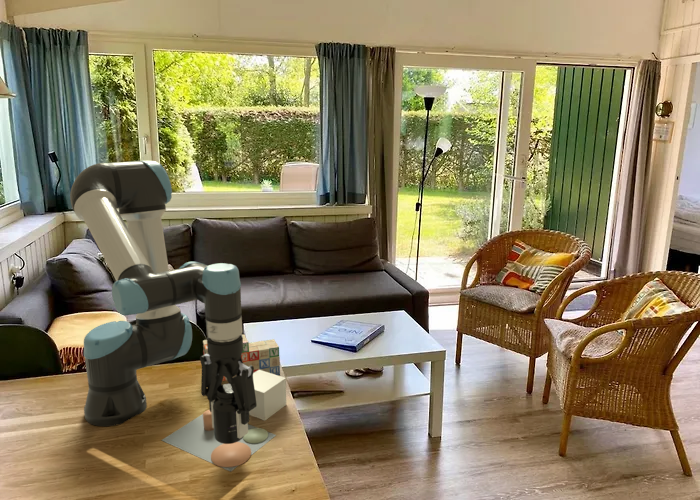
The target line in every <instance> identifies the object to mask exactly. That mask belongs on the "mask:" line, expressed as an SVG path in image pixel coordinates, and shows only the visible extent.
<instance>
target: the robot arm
mask: <svg viewBox="0 0 700 500" xmlns="http://www.w3.org/2000/svg"><path fill="white" fill-rule="evenodd" d="M172 194H173V189H172V184H171V180H170V177H169V175H168V173H167V170H166V169H165V168H164V167H163V165H162V164H161V163H160V162H158V161H155V160H134V161H133V160H131V161H122V162H121V161H118V162H117V161H116V162H115V161H114V162H98V163H94V164H91V165H90V166H88V167H86V168H85V169H83V170H81V172H79V174H78V175H77V176H76V178H75V180H74V181H73V183H72V186H71V188H70V194H69V195H70V197H69V198H70V205H71V208H72V210H73V213H74V214H75V216H76V217H77V218H78V219H79V220H81V221H83V222H84V223H85V225H86V227H87V229H88V231H89V232H90V234H91V236H92V238H93V239H94V241H95V243H96V245H97V247H98V249H99V250H100V253H101V255H102V257H103V258H104V260H105V262H106V264H107V265H108V268H109V270H110V271H111V274H112V276H113V277H114V279H115V281H114V283H112V286H111V295H112V296H111V297H112V300H113V301H112V302H113V303H114V307H115V310H116V311H117V312H118V314H120V315H121V316H131V315H135V321H136V323H135V324H132V323H130V322H129V321H125V320H118V321H115V320H114V321H109V322H106V323H102V324H100V325H97V326H96V327H94V328H92V329H91V330H90V331H89V332H88V333H87V334H86V335H85V336H84V338H83V357H84V360H85V361H84V362H85V368H86V376H87V377H86V378H87V384H88V391H87V394H86V400H85V404H84V407H83V412H84V418H85V421H86V422H87V423H88V424H90V425H93V426H97V427H113V426H118V425H122V424H124V423H126V422H128V421H130V420H131V419H133V418H135V417H136V416H138V415H139V414H141V413H143V412H145V411H146V409H147V404H148V403H147V398H146V397H147V396H146V395H145V392H144V390H143V388H142V386H141V385H140V382H139V380H138V377H137V370H141V369H144V368H147V367H150V366H155V365H157V364H160V363H164V362H168V361H173V360H175V359H177V358H179V357H182V356H185V355H186V354H187V353H188V352H189V350H190V348H191V346H192V344H193V343H192V341H193V329H192V324H191V323H190V319H189V316H188V315H187V314H186V313H182V311H181V308H180V307H178V305H181V304H185V303H190V302H193V301H199V302H201V303H202V304H204V312H205V313H204V314H205V316H204V317H205V327H206V337H207V338H206V340H207V348H208V353H207V354H205V355H200V357H199V361H200V364H201V381H200V382H201V387H200V388H201V389H200V393H201V396H202V397H206V398H207V400H208V404H209V405H208V406H209V410H210V412H211V413H212V428H214V419H213V403H214V401H215V399H216V398H217V388H218V387H219V386H220V385H223V382H224V381H223V377H224V376H225V377H226V378H227V380H226V381H227V383H230V384H231V387H232V390H233V393H234V396H235V399H236V402H237V406H238V409H239V410H237V411H236V420H237V438H242V437H243V436H244V435H246V434H247V433H248V424H249V422H250V415H249V411H251V410H252V409H254V408H255V407H256V406H257V404H256V396H255V389H254V381H253V371H254V367H253V366H252V365H250V366H249V367H248V366H246V365H244V364H243V361H242V358H241V354H242V351H243V336H242V335H243V322H242V320H243V317H242V296H241V295H242V293H241V292H242V291H241V288H242V283H241V279H240V271H239V268H238V267H237V265H235V264H232V263H227V262H226V263H225V262H224V263H223V262H220V263H212V264H209V265H207V264H205V263H201V262H198V261H188V262H187V261H186V262H185V263H184V264H182V265H181V266H180V267H178V268H177V269H171V270H170V269H169V261H168V255H167V250H166V242H165V236H164V229H163V222H162V221H163V220H162V216H163V215H164V213H165V212H166V211H167V209H166V208H167V207H166V204H168V203H169V202H171V200H172ZM124 220H125V221H126V222H125V221H124ZM126 223H127V224H126ZM235 375H236V376H235ZM234 376H235V377H234ZM232 377H233V378H232Z"/></svg>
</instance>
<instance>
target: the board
mask: <svg viewBox="0 0 700 500" xmlns="http://www.w3.org/2000/svg"><path fill="white" fill-rule="evenodd" d="M276 436H277V434H276V433H275V434H274V433H272V432H269V431H267V429H264V428H261V427H257V426H254V425H251V424H249V423H248V433H247V434H246V435H244V437H243V438H242V439H241V440H240V441H238V442H236V443H232V444H223V443H220V442H218V441H217V440H216V439H215V436H214V428H212V413H211V412H210V409H207V410H205V411H204V412H203V413H202V414H201V415H199V416H197V417H196V418H194V419H192V420H191V421H189V422H188V423H186V424H184V425H183V426H182V427H180V428H178V429H177V430H175V431H173V432H172V433H171V434H169V435H167V436H166V437H164V438H163V439H161V440H160V441H162V442H164V443H167V444H168V445H170V446H173V447H176V448H177V449H179V450H182V451H184V452H186V453H187V454H188V453H189V454H190V455H193V456H195V457H198V458H199V459H201V460H204V461H206V462H208V463H210V464H213V465H214V466H217V467H219V468H222V469H224V470H225V471H229V472H230V473H231V472H233V471H234V470H235V469H236V468H237V467H239V466H240V465H243V464H244V463H246V462H247V461H248V460H249V459H250V458H251V456H252V455H254V454H255V453H256V452H257V451H259V450H260V449H261V448H263V446H265V445H266V444H267V443H269V442H270V441H271V440H273V439H274V438H275V437H276Z"/></svg>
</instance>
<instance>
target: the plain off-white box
mask: <svg viewBox="0 0 700 500" xmlns="http://www.w3.org/2000/svg"><path fill="white" fill-rule="evenodd" d="M253 381H254V389H255V396H256V404H257V406H256V407H255V408H254V409H252V410H251V411H249V416H250V417H254V418H256V419H260V420H262V421H267V420H268V419H269V418H270V417H272V416H273V415H275V414H276V413H277V412H279V411H280V410H281V409H283V408H284V407H285V406H287V378H286V377H284V376H281V375H275V374H272V373H268V372H265V371H262V370H258V371H256V372H255V373H253Z"/></svg>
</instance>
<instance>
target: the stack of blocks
mask: <svg viewBox="0 0 700 500" xmlns="http://www.w3.org/2000/svg"><path fill="white" fill-rule="evenodd" d="M241 335H242V336H243V351H242V354H241V358H242V361H243V364H244V365H246V366H248V367H249V366H250V365H252V366H253V367H254V371H253V373H255V372H256V371H258V370H262V371H265V372H268V373H272V374H275V375H278V376H281V375H280V374H281V362H280V361H281V360H280V357H281V355H280V346H279V345H278V343H277V341H276V340H275V338H274V339H273V338H272V339H267V340H261V341H260V340H259V341H253V342H249V340H248V339H247V337H246V335H245V334H243V333H242V334H241ZM202 344H203V345H202V347H203V350H202V353H203V355H205V354H207V353H208V348H207V339H204V340H202ZM203 355H202V356H203ZM235 376H236V375H235ZM235 376H234V377H235ZM232 378H233V377H232ZM224 381H227V378H226V377H225V376H224V377H223V381H222V382H224Z"/></svg>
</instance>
